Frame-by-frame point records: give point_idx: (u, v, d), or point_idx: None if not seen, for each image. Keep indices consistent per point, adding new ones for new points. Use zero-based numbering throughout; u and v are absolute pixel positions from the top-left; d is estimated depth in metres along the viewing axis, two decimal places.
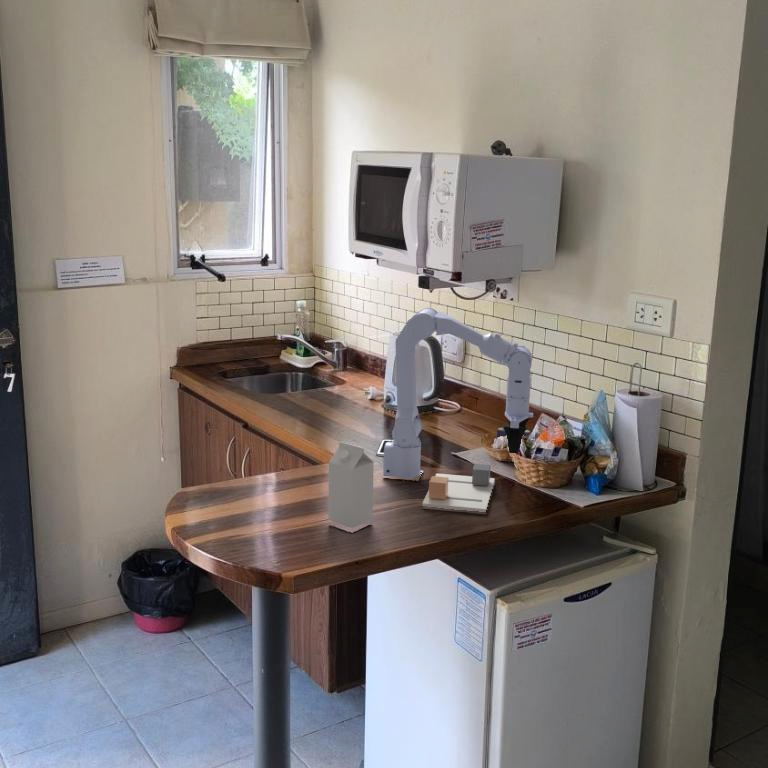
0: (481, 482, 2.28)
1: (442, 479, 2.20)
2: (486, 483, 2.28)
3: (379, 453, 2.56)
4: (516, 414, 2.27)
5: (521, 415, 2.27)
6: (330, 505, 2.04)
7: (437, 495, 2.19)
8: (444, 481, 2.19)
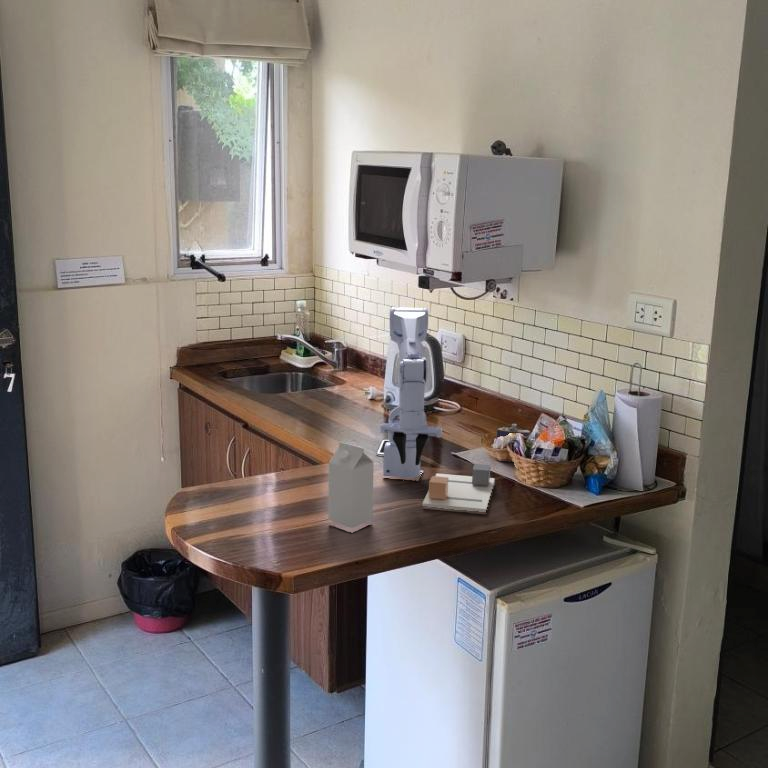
0: (481, 482, 2.28)
1: (442, 479, 2.20)
2: (486, 483, 2.28)
3: (379, 453, 2.56)
4: (399, 424, 2.19)
5: (399, 426, 2.18)
6: (330, 505, 2.04)
7: (437, 495, 2.19)
8: (444, 481, 2.19)
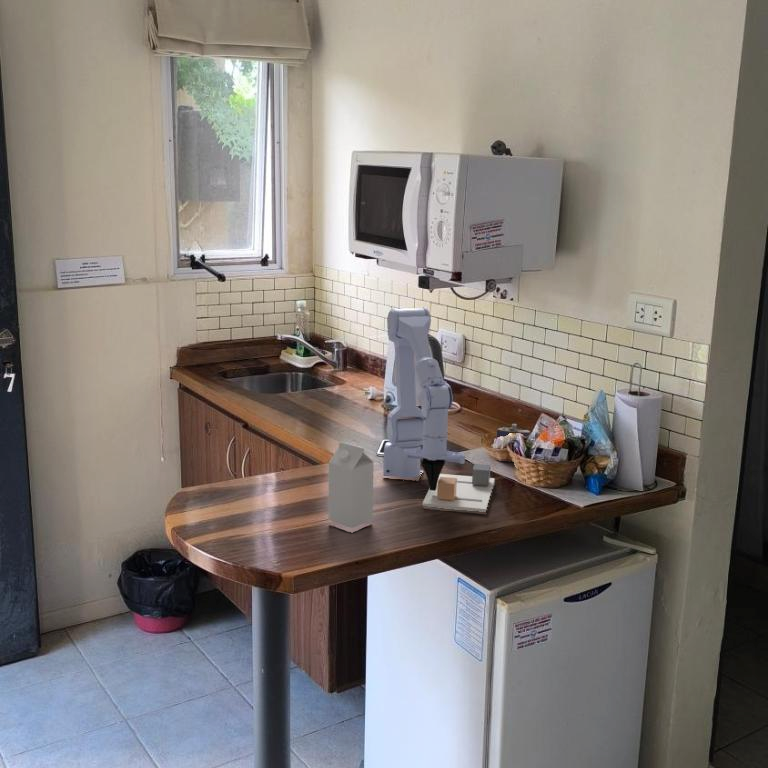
0: (481, 482, 2.28)
1: (451, 480, 2.20)
2: (486, 483, 2.28)
3: (379, 453, 2.56)
4: None
5: (422, 452, 2.18)
6: (330, 505, 2.04)
7: (446, 496, 2.18)
8: (453, 482, 2.18)
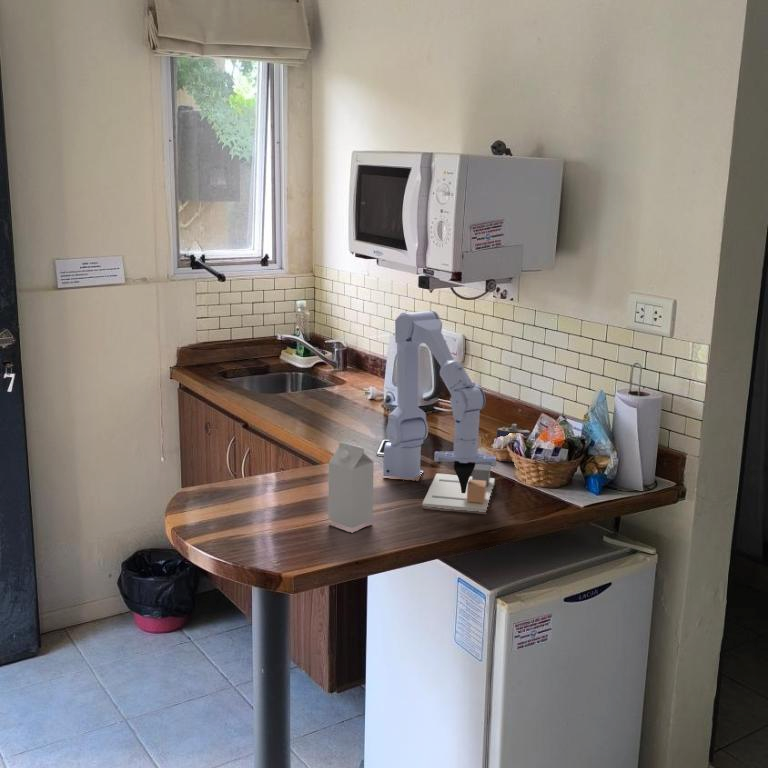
0: None
1: (480, 482, 2.18)
2: (486, 483, 2.28)
3: (379, 453, 2.56)
4: (453, 452, 2.18)
5: (453, 455, 2.16)
6: (330, 505, 2.04)
7: (476, 499, 2.17)
8: (483, 484, 2.17)
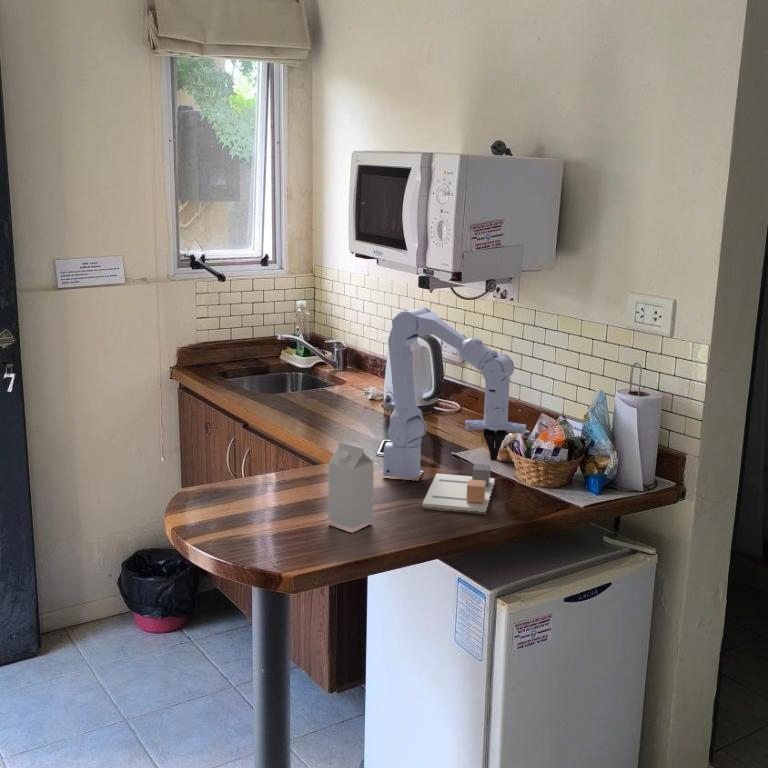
0: None
1: (480, 482, 2.18)
2: (486, 483, 2.28)
3: (379, 453, 2.56)
4: None
5: (484, 423, 2.22)
6: (330, 505, 2.04)
7: (475, 498, 2.17)
8: (482, 484, 2.17)
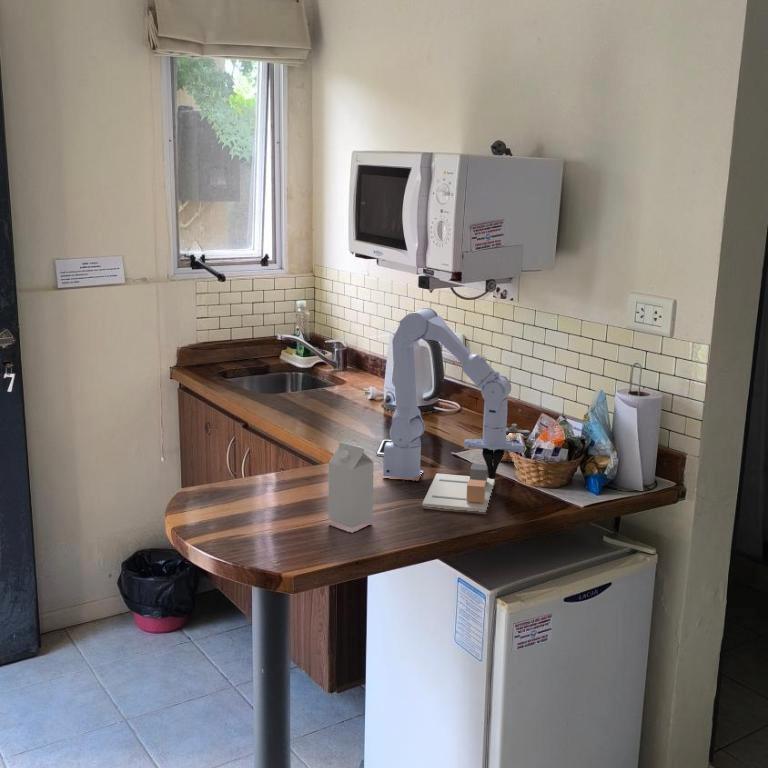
0: None
1: (480, 482, 2.18)
2: None
3: (379, 453, 2.56)
4: (482, 440, 2.28)
5: (483, 442, 2.27)
6: (330, 505, 2.04)
7: (475, 498, 2.17)
8: (482, 484, 2.17)
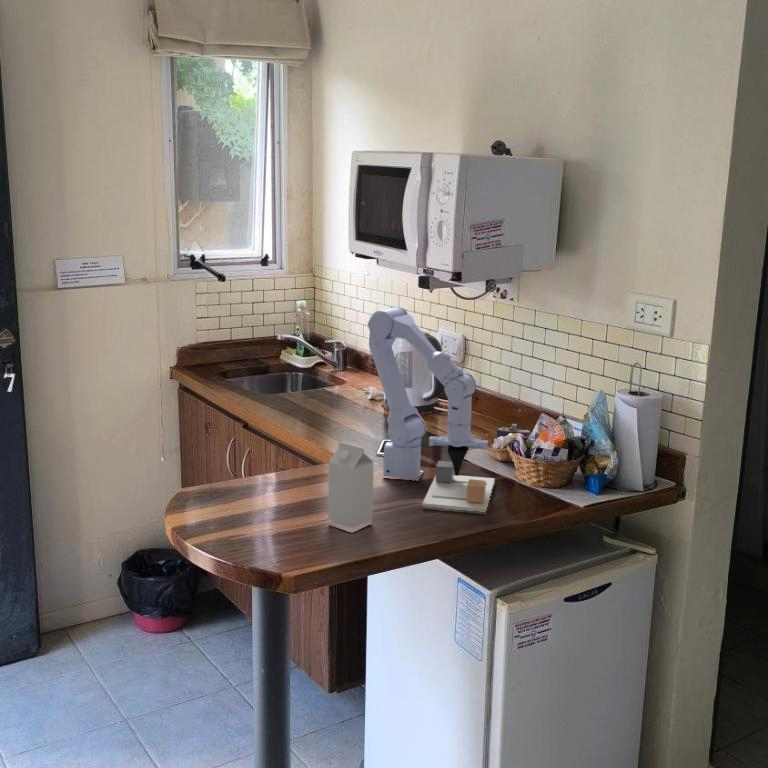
0: (444, 479, 2.30)
1: (480, 482, 2.18)
2: (449, 480, 2.30)
3: (379, 453, 2.56)
4: (447, 437, 2.30)
5: (447, 439, 2.28)
6: (330, 505, 2.04)
7: (475, 498, 2.17)
8: (482, 484, 2.17)
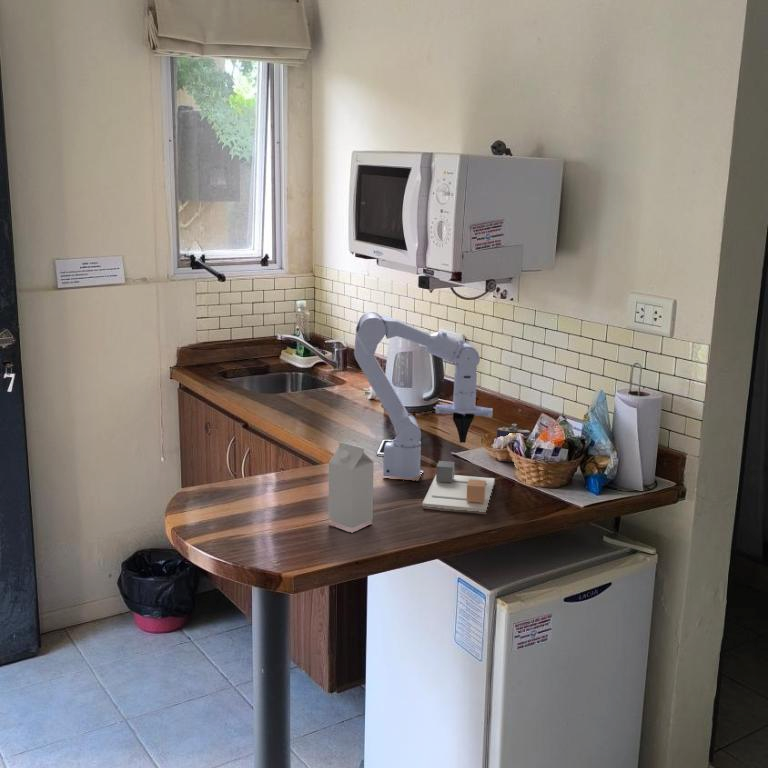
0: (445, 479, 2.30)
1: (480, 482, 2.18)
2: (450, 480, 2.30)
3: (379, 453, 2.56)
4: (453, 405, 2.37)
5: (453, 407, 2.36)
6: (330, 505, 2.04)
7: (475, 498, 2.17)
8: (482, 484, 2.17)
